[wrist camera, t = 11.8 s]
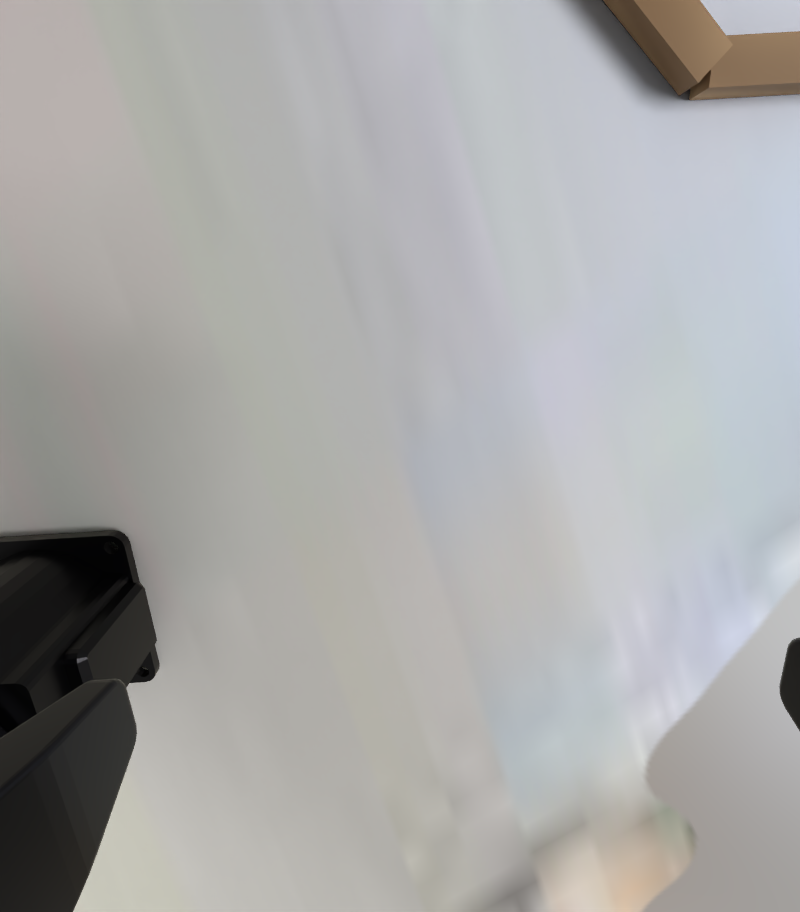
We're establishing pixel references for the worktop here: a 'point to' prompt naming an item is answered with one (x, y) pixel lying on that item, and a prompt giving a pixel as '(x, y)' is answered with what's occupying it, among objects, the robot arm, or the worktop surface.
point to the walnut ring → (710, 51)
